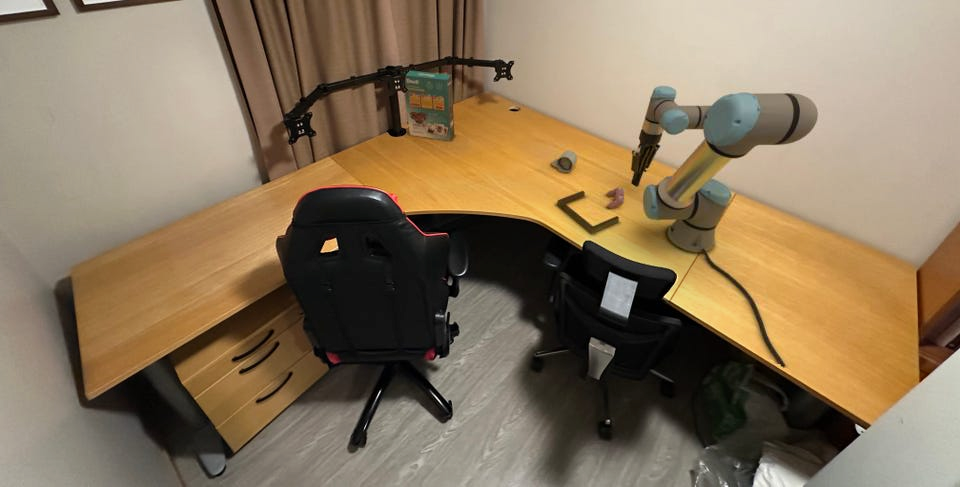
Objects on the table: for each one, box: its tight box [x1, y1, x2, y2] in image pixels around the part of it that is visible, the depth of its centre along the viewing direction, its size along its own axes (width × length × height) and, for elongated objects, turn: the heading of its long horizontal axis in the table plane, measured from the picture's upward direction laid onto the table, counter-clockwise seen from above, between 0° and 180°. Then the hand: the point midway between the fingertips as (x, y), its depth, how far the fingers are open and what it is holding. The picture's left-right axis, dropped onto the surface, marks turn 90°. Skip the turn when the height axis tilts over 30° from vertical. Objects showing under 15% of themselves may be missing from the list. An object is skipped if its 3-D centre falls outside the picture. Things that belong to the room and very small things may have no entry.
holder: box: [556, 190, 620, 235], centre depth 154 cm, size 20×13×2 cm, turn 31°
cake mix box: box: [404, 70, 455, 142], centre depth 192 cm, size 22×6×30 cm, turn 74°
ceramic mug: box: [551, 150, 578, 173], centre depth 177 cm, size 11×8×8 cm
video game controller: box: [606, 187, 625, 209], centre depth 158 cm, size 10×5×7 cm, turn 168°
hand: (634, 184), depth 160 cm, fingers closed
